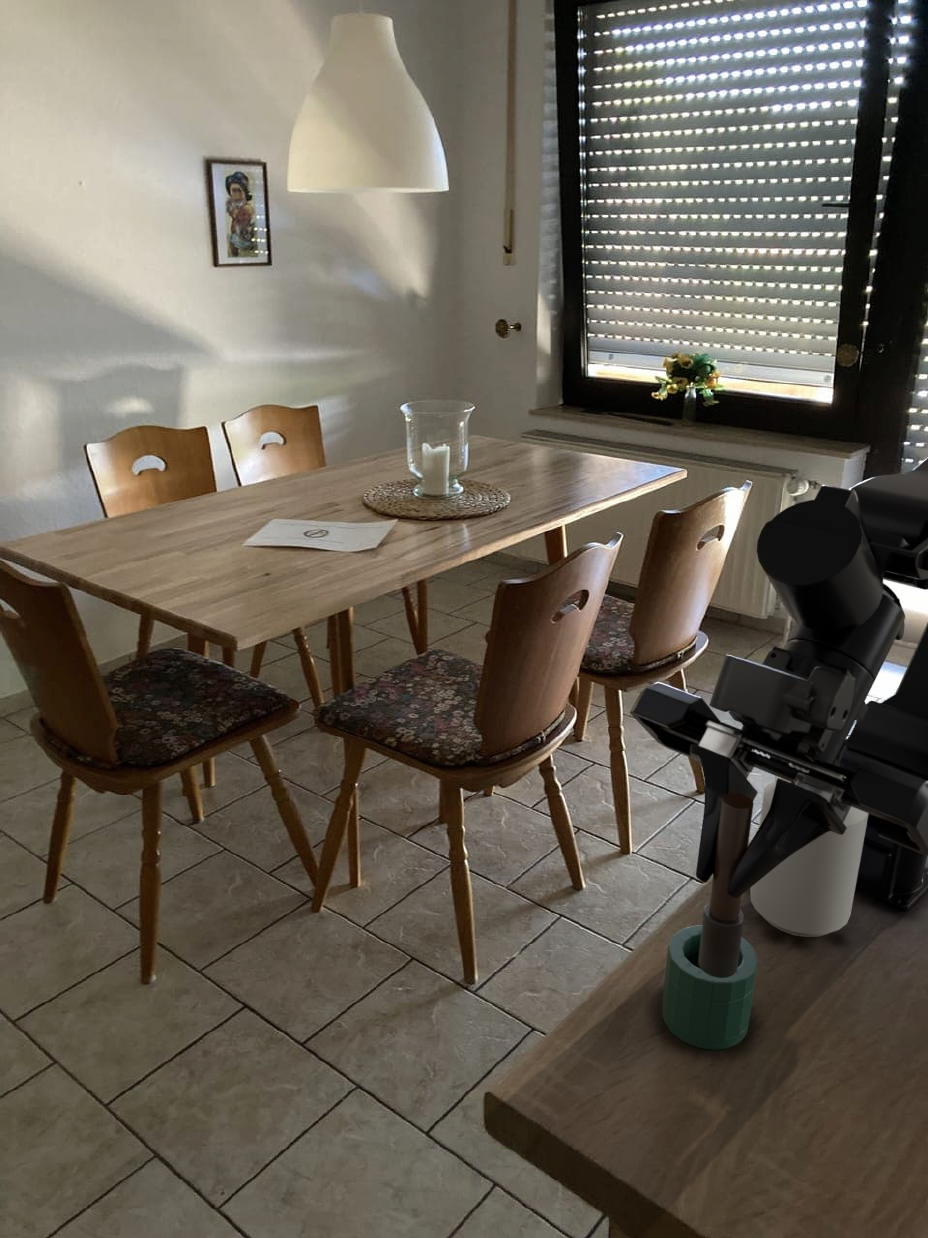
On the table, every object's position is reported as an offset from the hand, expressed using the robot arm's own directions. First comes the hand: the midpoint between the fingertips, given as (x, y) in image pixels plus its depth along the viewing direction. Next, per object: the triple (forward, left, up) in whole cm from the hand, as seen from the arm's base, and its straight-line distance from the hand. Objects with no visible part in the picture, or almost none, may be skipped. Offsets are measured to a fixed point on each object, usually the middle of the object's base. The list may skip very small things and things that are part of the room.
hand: (715, 887), depth 61 cm
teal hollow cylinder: (-4, -2, -14) cm, 14 cm away
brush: (-1, 0, -7) cm, 7 cm away
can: (-19, -3, -14) cm, 24 cm away
